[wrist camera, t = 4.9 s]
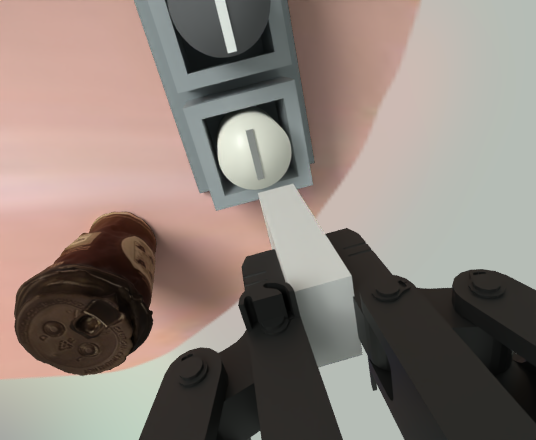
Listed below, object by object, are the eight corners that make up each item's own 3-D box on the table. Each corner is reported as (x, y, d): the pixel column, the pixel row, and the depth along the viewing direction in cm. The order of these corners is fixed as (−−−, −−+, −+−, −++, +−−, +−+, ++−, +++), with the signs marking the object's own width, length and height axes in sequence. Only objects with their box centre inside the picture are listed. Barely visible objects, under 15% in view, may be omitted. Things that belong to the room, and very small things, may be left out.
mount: (67, -201, 21) (18, -288, 15) (243, -241, 21) (254, -338, 16) (200, 190, 32) (197, 215, 27) (312, 160, 33) (331, 180, 27)
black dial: (166, -23, 21) (149, -52, 16) (246, -43, 22) (257, -77, 16) (192, 65, 24) (186, 68, 18) (264, 47, 24) (280, 44, 18)
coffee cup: (165, 198, 32) (137, 278, 20) (175, 272, 36) (158, 376, 24) (66, 203, 31) (-22, 291, 19) (87, 279, 35) (23, 392, 23)
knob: (209, 114, 28) (208, 128, 23) (270, 98, 28) (283, 108, 23) (226, 172, 30) (229, 198, 25) (282, 158, 31) (297, 180, 25)
